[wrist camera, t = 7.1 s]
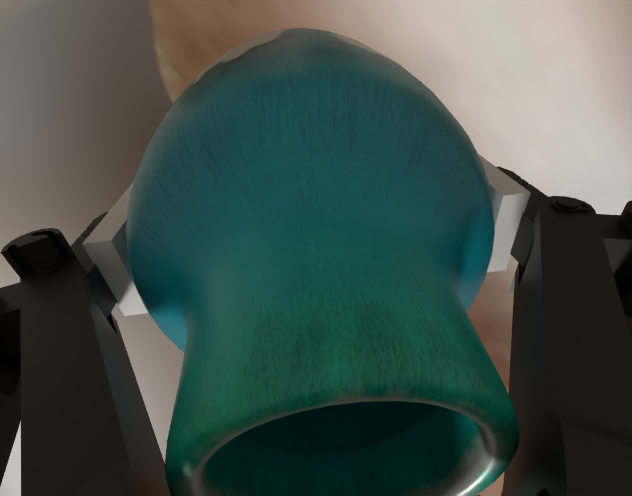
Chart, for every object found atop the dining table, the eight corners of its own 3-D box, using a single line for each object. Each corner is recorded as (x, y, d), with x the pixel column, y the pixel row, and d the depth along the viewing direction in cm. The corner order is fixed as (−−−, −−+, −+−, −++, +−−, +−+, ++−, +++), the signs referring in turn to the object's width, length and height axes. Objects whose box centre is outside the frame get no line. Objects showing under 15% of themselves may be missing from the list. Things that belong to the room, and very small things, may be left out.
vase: (413, 64, 19) (980, 301, 4) (343, 219, 25) (452, 575, 9) (225, -15, 17) (-685, -400, 1) (194, 179, 22) (-12, 591, 6)
